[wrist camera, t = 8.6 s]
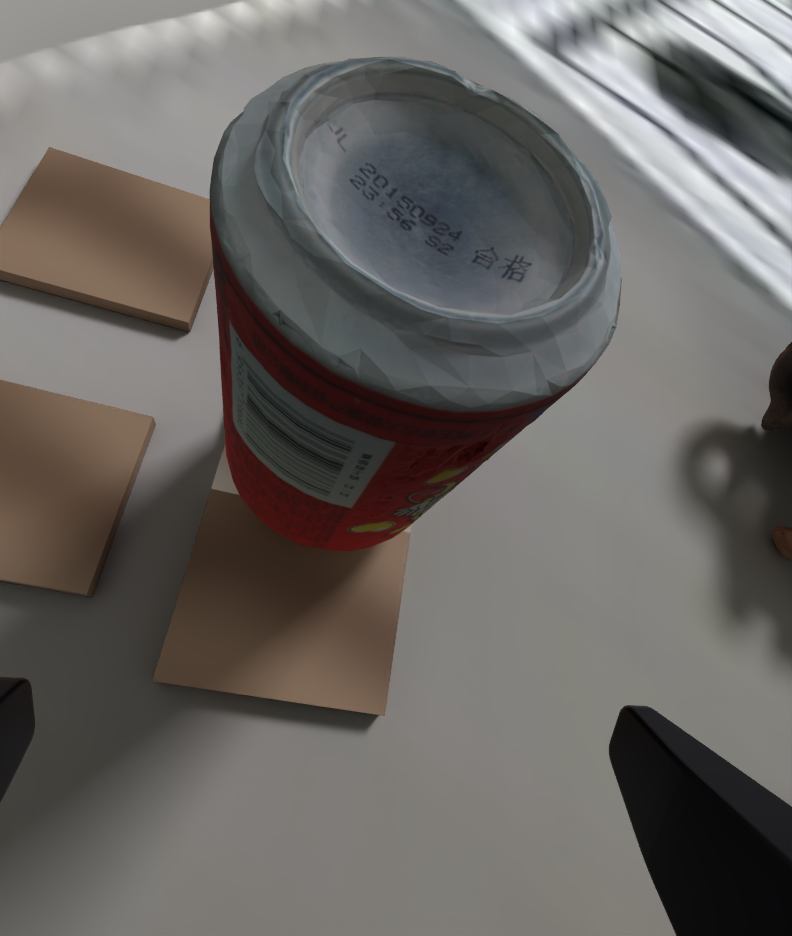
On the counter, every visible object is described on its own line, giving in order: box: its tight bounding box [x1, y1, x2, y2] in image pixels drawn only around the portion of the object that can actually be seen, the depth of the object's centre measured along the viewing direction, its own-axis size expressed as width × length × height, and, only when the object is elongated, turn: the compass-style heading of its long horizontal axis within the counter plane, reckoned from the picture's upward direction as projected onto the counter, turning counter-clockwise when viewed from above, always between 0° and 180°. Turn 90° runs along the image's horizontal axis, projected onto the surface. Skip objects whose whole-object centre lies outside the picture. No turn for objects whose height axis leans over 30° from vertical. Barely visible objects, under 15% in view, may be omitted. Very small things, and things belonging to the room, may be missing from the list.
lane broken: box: [0, 147, 213, 597], centre depth 18 cm, size 16×7×1 cm, turn 172°
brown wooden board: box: [152, 445, 411, 716], centre depth 19 cm, size 16×7×1 cm, turn 172°
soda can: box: [210, 57, 622, 551], centre depth 13 cm, size 7×7×12 cm
